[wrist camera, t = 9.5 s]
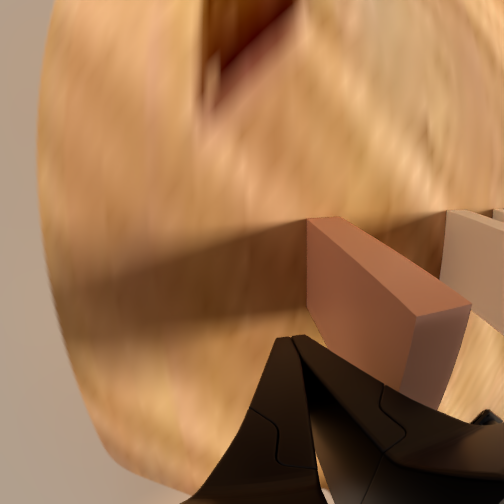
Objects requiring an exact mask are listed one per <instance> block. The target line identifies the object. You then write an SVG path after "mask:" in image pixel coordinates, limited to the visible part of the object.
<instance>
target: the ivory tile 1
mask: <svg viewBox="0 0 504 504" xmlns="http://www.w3.org/2000/svg"><path fill="white" fill-rule="evenodd" d="M439 280H440V281H441V282H443V283H444V284H446V285H447V286H448V287H450V288H451V289H453V290H454V291H456V292H457V293H458V294H460V295H461V296H463V297H464V298H465V299H467V300H468V301H469V302H471V303H472V307H471V310H472V311H473V312H474V313H476V314H477V315H478V316H479V317H481V318H482V319H483V320H485V321H486V322H487V323H488V324H490V325H491V326H492V327H493V328H495V329H496V330H497V331H498V332H500V333H501V334H502V335H503V336H504V223H503V222H500V221H498V220H495V219H492V218H489V217H486V216H483V215H481V214H478V213H475V212H472V211H469V210H447V214H446V227H445V238H444V248H443V256H442V264H441V271H440V278H439Z"/></svg>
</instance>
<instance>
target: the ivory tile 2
mask: <svg viewBox="0 0 504 504" xmlns="http://www.w3.org/2000/svg"><path fill="white" fill-rule="evenodd" d="M492 219H495V220H498V221H500V222H503V223H504V209H493V217H492Z"/></svg>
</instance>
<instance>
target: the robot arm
mask: <svg viewBox="0 0 504 504" xmlns="http://www.w3.org/2000/svg"><path fill="white" fill-rule="evenodd" d="M502 422H503V421H502V419H501V418H499V417H498V416H497V415H496V414H494V413H493V412H492V411H491V410H487V411H486V412H485V413H484V414H483V415H482V416H481V417H480V418H479V419H478V420H477V421H476V422H475V423H474V424H469V423H466V422H463V421H461V420H458V419H456V418H453V417H451V416H449V415H446V414H444V413H442V412H439V411H437V410H434V409H432V408H430V407H428V406H425V405H423V404H421V403H419V402H417V401H415V400H413V399H411V398H409V397H407V396H405V395H403V394H401V393H400V392H398V391H396V390H394V389H393V388H391V387H389V386H388V385H385V386H384V383H382V382H381V381H379V380H377V379H376V378H374V377H372V376H371V375H369V374H367V373H366V372H364V371H363V370H361V369H359V368H358V367H356V366H354V365H353V364H351V363H349V362H348V361H346V360H345V359H343V358H341V357H340V356H338V355H337V354H335V353H333V352H332V351H330V350H329V349H327V348H325V347H324V346H322V345H321V344H319V343H318V342H316V341H314V340H313V339H311V338H310V337H308V336H307V335H296V336H292V337H291V338H290V337H281V338H276V339H275V342H274V344H273V347H272V350H271V352H270V355H269V358H268V360H267V363H266V366H265V368H264V371H263V373H262V376H261V378H260V381H259V383H258V386H257V389H256V391H255V394H254V396H253V399H252V401H251V404H250V406H249V409H248V410H247V413H246V415H245V418H244V420H243V422H242V424H241V426H240V428H239V431H238V433H237V434H236V436H235V438H234V439H233V441H232V443H231V444H230V446H229V448H228V449H227V451H226V452H225V454H224V455H223V457H222V458H221V460H220V461H219V463H218V464H217V465H216V467H215V468H214V470H213V471H212V473H211V474H210V476H209V477H208V478H207V480H206V481H205V483H204V484H203V485H202V486H201V488H200V489H199V490H198V491H197V492H196V493H195V494H194V495H193V496H192V497H190V498H189V499H188V500H186V501H184V502H182V503H180V504H328V503H327V501H326V499H325V497H324V494H323V492H322V490H321V486H320V482H319V476H318V471H317V470H318V468H317V461H316V454H317V457H318V459H319V462H320V465H321V468H322V470H323V473H324V476H325V479H326V481H327V484H328V487H329V489H330V492H331V495H332V498H333V500H334V503H335V504H504V423H502ZM315 451H316V454H315Z"/></svg>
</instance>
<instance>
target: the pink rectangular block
mask: <svg viewBox="0 0 504 504" xmlns="http://www.w3.org/2000/svg"><path fill="white" fill-rule="evenodd" d="M306 307H307V309H308V311H309V313H310V314H311V316H312V318H313V320H314V322H315V324H316V326H317V328H318V330H319V332H320V334H321V336H322V338H323V340H324V342H325V344H326V346H327V348H328V349H329V350H330V351H332V352H333V353H335V354H337V355H338V356H340V357H341V358H343V359H345V360H346V361H348V362H349V363H351V364H353V365H354V366H356V367H358V368H359V369H361V370H363V371H364V372H366V373H367V374H369V375H371V376H372V377H374V378H376V379H377V380H379V381H381V382H382V383H384V386H385V385H388V386H389V387H391V388H393V389H394V390H396V391H398V392H400V393H401V394H403V395H405V396H407V397H409V398H411V399H413V400H415V401H417V402H419V403H421V404H423V405H425V406H428V407H430V408H432V409H434V410H437V409H438V407H439V405H440V402H441V400H442V397H443V395H444V392H445V390H446V387H447V385H448V382H449V379H450V377H451V374H452V371H453V368H454V365H455V362H456V359H457V356H458V353H459V350H460V347H461V344H462V340H463V337H464V333H465V330H466V326H467V322H468V319H469V315H470V311H471V307H472V303H471V302H469V301H468V300H467V299H465V298H464V297H463V296H461V295H460V294H458V293H457V292H456V291H454V290H453V289H451V288H450V287H448V286H447V285H446V284H444V283H443V282H441V281H440V280H438V279H437V278H436V277H434V276H433V275H431V274H430V273H428V272H427V271H425V270H424V269H422V268H421V267H419V266H418V265H416V264H415V263H413V262H412V261H410V260H409V259H407V258H406V257H404V256H403V255H401V254H399V253H398V252H396V251H395V250H393V249H392V248H390V247H389V246H387V245H385V244H384V243H382V242H381V241H379V240H377V239H376V238H374V237H373V236H371V235H369V234H368V233H366V232H365V231H363V230H361V229H360V228H358V227H356V226H355V225H353V224H351V223H350V222H348V221H346V220H345V219H343V218H341V217H325V218H309V219H307V306H306Z"/></svg>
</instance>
